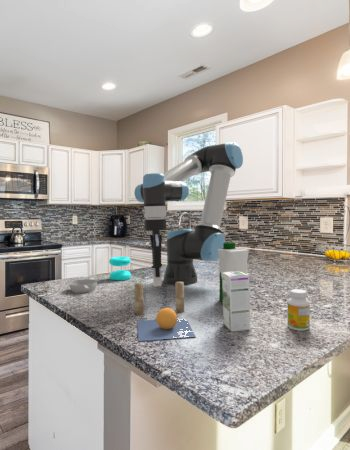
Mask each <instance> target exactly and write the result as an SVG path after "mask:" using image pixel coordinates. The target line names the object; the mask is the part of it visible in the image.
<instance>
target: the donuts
mask: <svg viewBox="0 0 350 450" xmlns="http://www.w3.org/2000/svg"><path fill="white" fill-rule="evenodd" d="M131 261H132V260H131V258H130V257H129V256H113V257H111V258H110V259H109V260H108V263H109V264H110V265H111V266H113V267H124V266H128V265H129V264H131ZM131 277H132V273H131V272H130V271H128V270H123V269H119V270H114V271H112V272H111V273H109V279H110V280H112V281H125V280H129V279H130V278H131Z"/></svg>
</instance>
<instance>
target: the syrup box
mask: <svg viewBox="0 0 350 450" xmlns="http://www.w3.org/2000/svg"><path fill="white" fill-rule="evenodd" d="M250 287H251V286H250V274H248V273H247V274H245V273H243V272H240V271H231V272H224V273H222V291H223V302H222V325H223V326H224V327H226V328H227V329H228V330H229V331H230V332H241V331H243V332H244V331H250V330H251V299H250V298H251V297H250V296H251V293H250Z"/></svg>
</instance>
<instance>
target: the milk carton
mask: <svg viewBox="0 0 350 450" xmlns="http://www.w3.org/2000/svg"><path fill="white" fill-rule="evenodd" d="M223 247H224V248H222V249H218V255H219V259H218V261H219V263H218V264H219V265H218V266H219V299H218V300H219V301H221V303H223V291H222V273H224V272H231V271H240V272H243V273H245V274H247V275H248V267H247V266H248V265H247V264H248V258H249V254H250V249H245V248H240V247H236V242H232V241H231V242H229V241H228V242H227V241H225V243H223Z"/></svg>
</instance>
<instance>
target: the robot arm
mask: <svg viewBox="0 0 350 450" xmlns="http://www.w3.org/2000/svg"><path fill="white" fill-rule="evenodd" d="M243 163H244V157H243V152H242V149H241V147H240V146H239V144H238V143H236V142H235V141H234V142H233V141H231V142H224V143H219V144H214V145H213V144H212V145H207V146H204V147H202V148H199V149H198V150H195V152H194V151H193V152H192V153H191V154H190V155H187V156H186V157H185V159H184V160H183V161H182V162H181V163H178V164H177V165H175V166H174V167H171V168H170V169H169V170H167V171H165V172H163V173H162V172H161V173H160V172H159V173H158V172H155V173H154V172H153V173H146V174H144V175H143V177H142V183H139V184H137V186H135V189H134V191H133V192H134V194H133V195H134V197H135V199H136V201H137V202H139V203H143V208H144V209H142V210H141V211H142V213H144V214H143V215H144V218H145V219H144V220H143V221H144V222H143V223H144V231H151V234H150V235H149V240H150V248H151V252H152V253H151V254H152V255H151V256H152V259H151V260H152V261H151V262H152V265H151V266H150V267H151V269H152V274H153V275H152V277H153V278H152V279H153V287H162V283H166V284H168V285H169V284H170V285H175V282H184V285H191V284H194V283H195V284H196V283H197V282H198V275H197V272H196V268H195V265H194V260H196V261H204V262H216V261H219V255H218V249H222V248H224V247H223V243H225V242H226V237H225V235H224V234H223V229H221V224H222V219H223V214H224V209H225V205H226V204H225V203H226V202H227V201H226V200H227V196H228V191H229V185H230V181H231V178H232V177H234V176H235V175H236V169H240V168H242V166H243ZM206 172H209V173H210V174H211V175H210V179H209V183H208V188H207V190H206V196H205V200H204V203H203V209H202V213H201V217H200V222H199V223H198V224H196V225H195V227H194V230H193V228H183V229H176V230H170V231H168V232H167V234H166V257H167V258H166V267H165V271H164V274H163V282H162V267H163V264H162V241H163V235H161V234H160V231H165V230H167V219H166V217H167V206H166V202H183V201H185V200H186V199H188V198H187V197H188V196H189V186H188V184H187V182H185V181H187V180H188V179H190V178H191V177H193V176H198V175H200V174H202V173H206Z"/></svg>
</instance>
